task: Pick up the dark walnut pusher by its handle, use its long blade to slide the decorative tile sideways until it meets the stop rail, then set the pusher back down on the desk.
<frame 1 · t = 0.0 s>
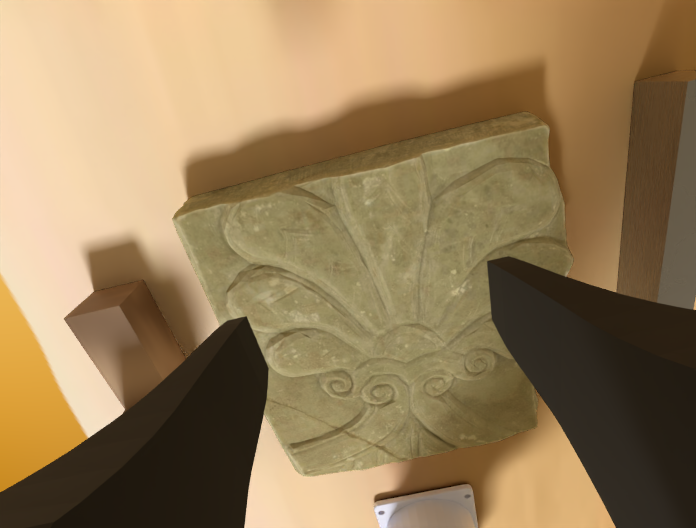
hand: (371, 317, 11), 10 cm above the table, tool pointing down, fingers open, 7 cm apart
walnut pusher: (179, 386, 25), on the table
decorative tile: (393, 308, 24), on the table
stop rail: (636, 260, 22), on the table
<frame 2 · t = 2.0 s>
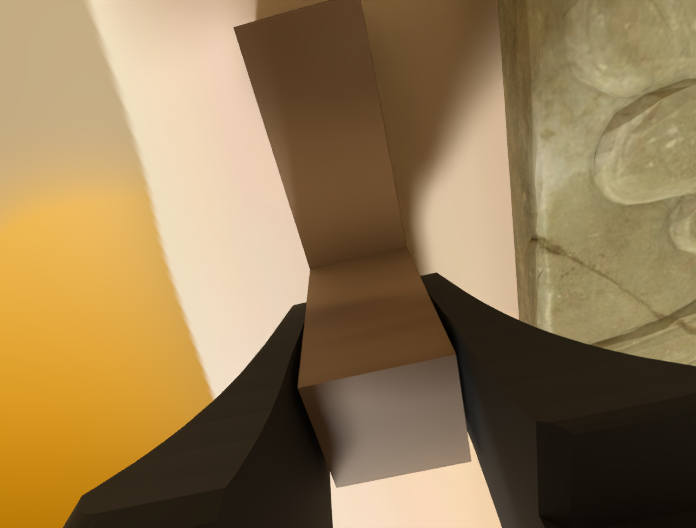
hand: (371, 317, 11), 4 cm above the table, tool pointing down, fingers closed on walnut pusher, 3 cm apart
walnut pusher: (361, 260, 15), on the table, touching gripper
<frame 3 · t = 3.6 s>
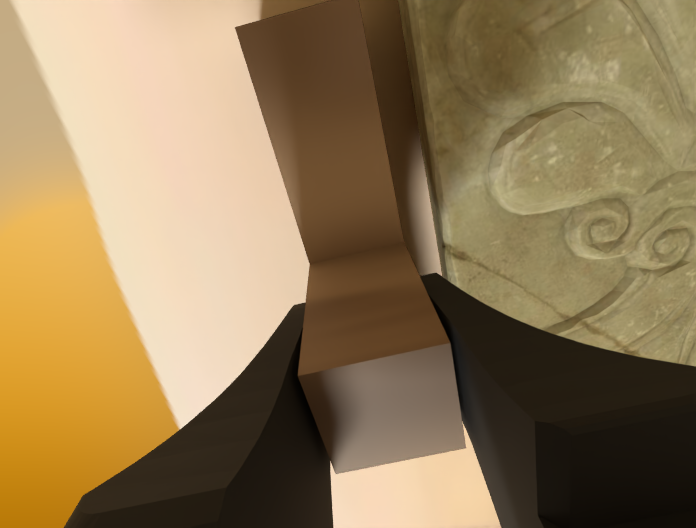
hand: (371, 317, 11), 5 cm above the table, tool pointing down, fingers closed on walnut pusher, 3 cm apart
walnut pusher: (360, 255, 15), point 1 cm above the table, touching gripper
decorative tile: (656, 124, 15), on the table
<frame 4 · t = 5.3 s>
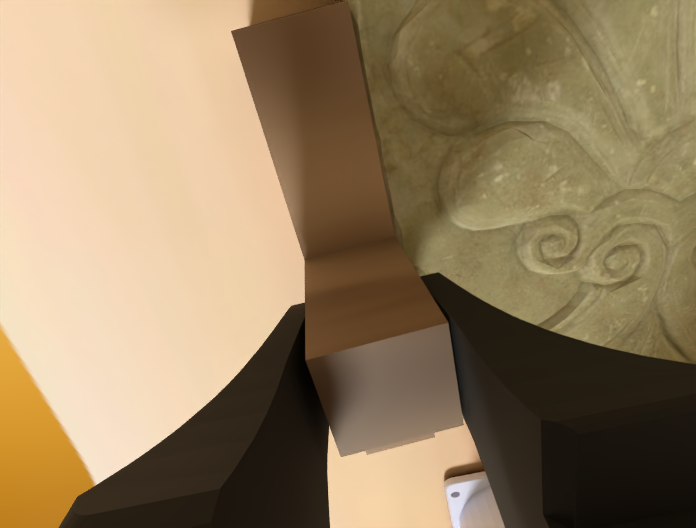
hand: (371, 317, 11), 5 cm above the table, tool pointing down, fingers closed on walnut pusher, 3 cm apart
walnut pusher: (350, 253, 16), on the table, touching decorative tile, gripper
decorative tile: (613, 139, 15), on the table, touching walnut pusher
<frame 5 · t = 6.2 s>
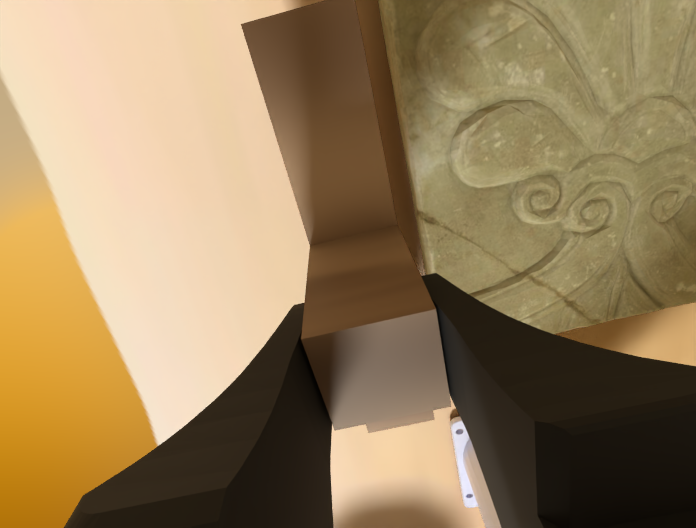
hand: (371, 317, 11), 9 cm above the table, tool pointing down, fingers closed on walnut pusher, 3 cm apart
walnut pusher: (357, 239, 16), point 3 cm above the table, touching gripper
decorative tile: (590, 118, 18), on the table
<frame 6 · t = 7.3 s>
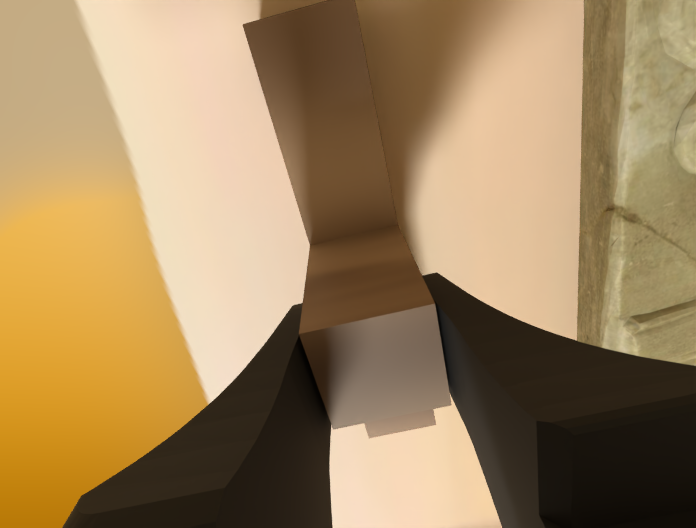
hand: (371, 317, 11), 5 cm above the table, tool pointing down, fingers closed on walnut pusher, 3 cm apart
walnut pusher: (357, 241, 16), on the table, touching gripper
when the fingers open (4 cm above the table, at t = 7.7 s): walnut pusher stays where it is, on the table.
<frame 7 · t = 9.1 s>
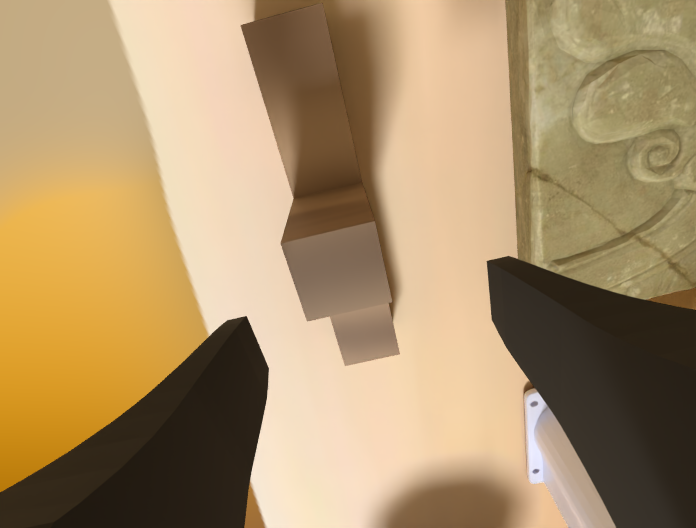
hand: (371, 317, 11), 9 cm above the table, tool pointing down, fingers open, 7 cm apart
walnut pusher: (335, 202, 20), on the table
decorative tile: (695, 78, 18), on the table
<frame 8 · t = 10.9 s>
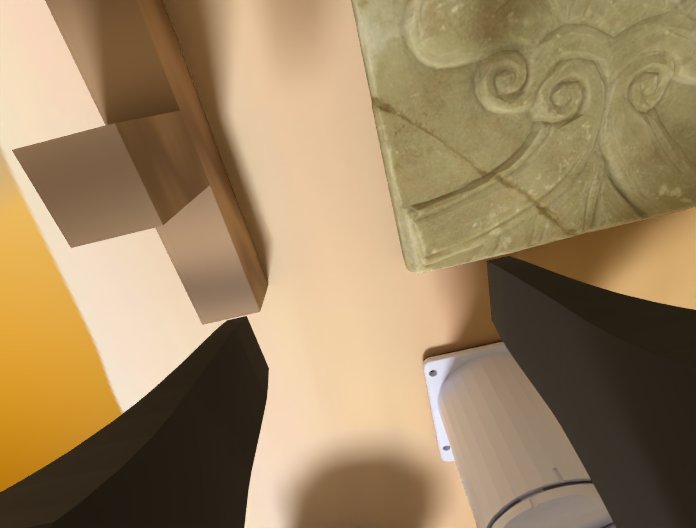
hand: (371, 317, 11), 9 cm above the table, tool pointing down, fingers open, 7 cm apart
walnut pusher: (185, 146, 18), on the table
decorative tile: (564, 6, 17), on the table
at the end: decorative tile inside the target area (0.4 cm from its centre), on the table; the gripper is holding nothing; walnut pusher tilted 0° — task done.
